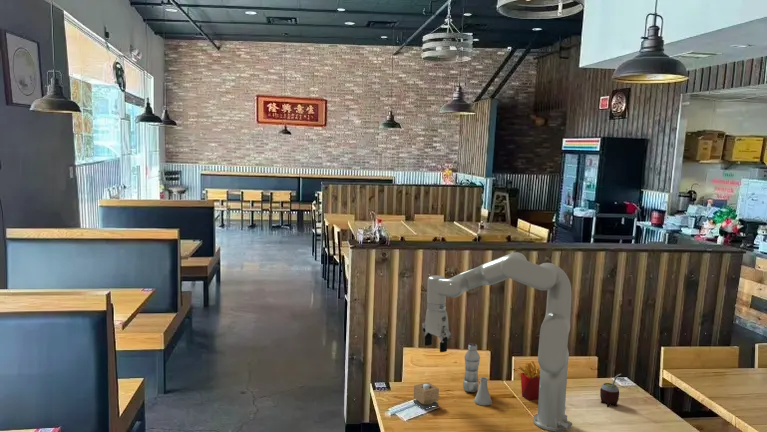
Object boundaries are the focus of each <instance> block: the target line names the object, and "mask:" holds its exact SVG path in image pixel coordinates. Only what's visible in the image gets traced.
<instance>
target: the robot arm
mask: <svg viewBox="0 0 767 432" xmlns="http://www.w3.org/2000/svg"><path fill="white" fill-rule="evenodd" d="M508 279H511V280H512V281H514V282H518V283H520V284H523V285H525V286H528V287H531V288H532V289H535V290H539V291H546V292H547V295H546V296H547V297H546V307H545V316H544V319H543V321H542V323H541V326H540V329H539V341H538V351H537V363H538V365H539V370H540V382H539V400H537V401H538V404H537V414H535V415H533V418H532V422H533V423H534V424H535V425H536V426H537V427H539V428H540V429H543V430H545V431H550V432H562V431H565V430H568V431H570V430H571V429H572V426H573V422H572V421H569V420H568V415H567V414H566V403H567V401H566V400H567V399H566V398H567V397H566V396H567V383H568V370H569V369H568V368H569V359H570V354H569V349H568V345H569V344H568V343H569V333H570V330H571V314H572V313H571V311H572V293H573V292H572V283H571V281H570V279H569V277H568V275H567V273H566V272H565V271H564V270H563V268H561V267H559V266H558V265H557V264H554V263H552V262H543V263H541V264H537V263H534V262H531V261H529V260H527V257H526V256H525V255H524V254H523V253H521V252H518V251H516V252H511V253H509V254H506V255H503V256H500V257H498V258H495V259H493V260H491V261H487V262H485V263H483V264H480V265H479V266H477V267H474V268H472V269H469V270H467V271H463V272H461V273H458V274H456V275H455V276H452V277H450V278H446V277H445V276H443V275H430V276H429V277H428V278H427V286H426V287H427V291H426V294H427V296H426V298H427V300H426V313H425V318H424V319H425V320H424V322H422V323H421V325H422V331H423V335H424V346H425V347H427V346H431V345H432V344H433V343H432V342H433V336H434V337H439V340H440V342H439V353H446V352H447V350H448V343H449V340H450V339H451V336H452V333H451V331H450V330H449V329H450V328H449V317H448V311H447V297H449V298H454V299H455V298H458V297H460V296H461V295H462V294H464V293H465V292H466V293H467V292H469V291H471V290H473V289H475V288H479V287H482V286H491V285H492V286H493V285H495V284H499V283H500V282H503V281H506V280H508Z"/></svg>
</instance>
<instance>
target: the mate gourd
mask: <svg viewBox="0 0 767 432" xmlns="http://www.w3.org/2000/svg"><path fill="white" fill-rule="evenodd" d="M621 375H622V373H618V374H616V375H615V376H614V378H613V382H611V383H610V382H604V383H603V384H602V385H601V387H600V391H599V395H600V396H599V397H600V403H601V404H604V405H606V408H610V406H613V407H618V402H619V399H620V390H619V386H617V384H615V382H616V381H617V379H618V377H619V376H621Z"/></svg>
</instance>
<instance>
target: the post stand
mask: <svg viewBox="0 0 767 432" xmlns="http://www.w3.org/2000/svg"><path fill="white" fill-rule="evenodd" d="M422 384H423V383H422ZM423 389H425V390H426V389H429V384H423ZM412 401H413V402H414V403H415V404H414V403H413V404H414V405H416V404H417V405H418V406H417V405H416V406H417V407H419V406H420V407H421V408H420V407H419V408H420V409H422V408H423V409H425V410H427V409H426V408H429V407H432V406H437V407H439V403H438V401H436V402H432V403H428V404H423V403H421V402H420V401H418V400H416V399H413V400H412ZM423 409H422V410H423ZM429 409H430V408H429Z"/></svg>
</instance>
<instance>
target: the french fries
mask: <svg viewBox="0 0 767 432" xmlns="http://www.w3.org/2000/svg"><path fill="white" fill-rule="evenodd" d="M518 369H519V370H520V371H521V373H520V385H521V397H522V398H523V397H524V398H523V399H525V400H527V401H529V402H532V401H539V382H540V367H539V368H538V367H536V364H535V362H534V361H533V360H531V362H526V363H525V365H524V368H523V367H521V366H518Z"/></svg>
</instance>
